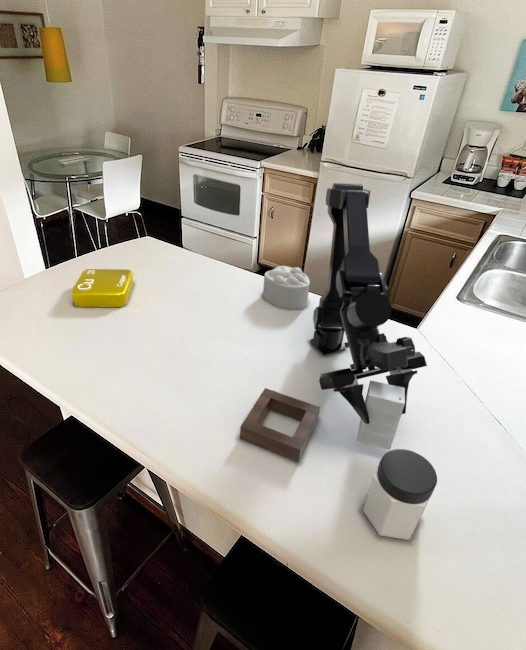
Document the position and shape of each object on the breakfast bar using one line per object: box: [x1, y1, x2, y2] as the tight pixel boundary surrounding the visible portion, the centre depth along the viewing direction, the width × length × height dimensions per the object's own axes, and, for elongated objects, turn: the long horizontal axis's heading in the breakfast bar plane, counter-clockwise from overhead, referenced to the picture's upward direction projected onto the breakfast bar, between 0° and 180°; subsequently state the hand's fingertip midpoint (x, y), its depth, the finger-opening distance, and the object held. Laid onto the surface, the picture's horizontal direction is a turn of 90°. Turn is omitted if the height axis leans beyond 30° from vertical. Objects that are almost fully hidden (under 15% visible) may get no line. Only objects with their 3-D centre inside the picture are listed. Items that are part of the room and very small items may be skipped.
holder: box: [239, 387, 321, 463], centre depth 87 cm, size 12×12×4 cm
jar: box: [362, 448, 438, 541], centre depth 70 cm, size 9×8×12 cm
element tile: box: [71, 268, 134, 308], centre depth 129 cm, size 15×15×5 cm
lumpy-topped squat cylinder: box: [262, 265, 311, 311], centre depth 126 cm, size 10×13×9 cm
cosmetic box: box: [356, 380, 405, 451], centre depth 79 cm, size 6×4×12 cm
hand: (385, 418), depth 78 cm, fingers closed on cosmetic box, 7 cm apart
